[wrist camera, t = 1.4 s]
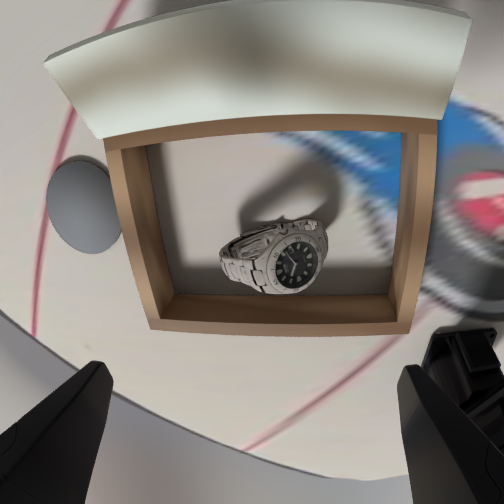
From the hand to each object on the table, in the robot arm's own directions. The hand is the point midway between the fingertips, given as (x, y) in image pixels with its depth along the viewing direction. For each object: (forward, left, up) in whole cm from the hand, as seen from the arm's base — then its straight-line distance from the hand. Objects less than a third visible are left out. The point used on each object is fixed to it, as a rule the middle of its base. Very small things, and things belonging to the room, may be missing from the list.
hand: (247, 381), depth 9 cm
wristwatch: (-1, 0, -13) cm, 13 cm away
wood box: (+2, 0, -12) cm, 12 cm away
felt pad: (+1, +14, -12) cm, 18 cm away
